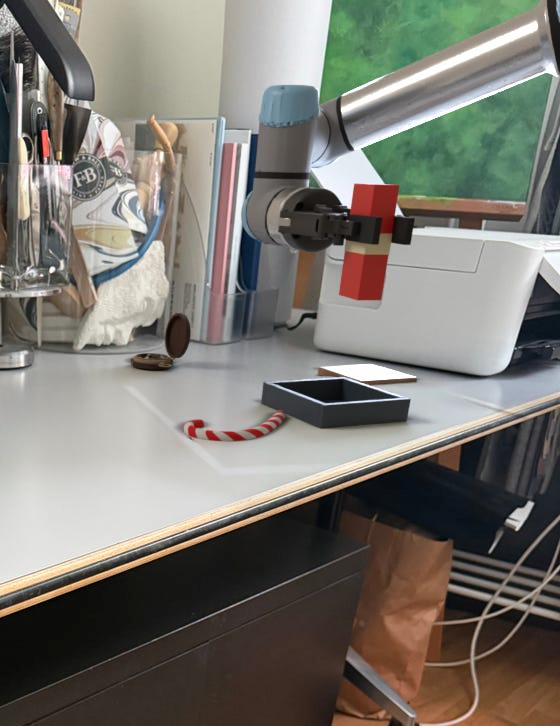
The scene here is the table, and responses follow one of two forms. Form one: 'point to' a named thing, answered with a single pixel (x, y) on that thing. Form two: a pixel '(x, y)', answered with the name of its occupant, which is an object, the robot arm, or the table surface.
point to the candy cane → (194, 431)
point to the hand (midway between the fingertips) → (393, 231)
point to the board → (366, 374)
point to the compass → (167, 345)
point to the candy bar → (367, 260)
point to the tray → (335, 402)
